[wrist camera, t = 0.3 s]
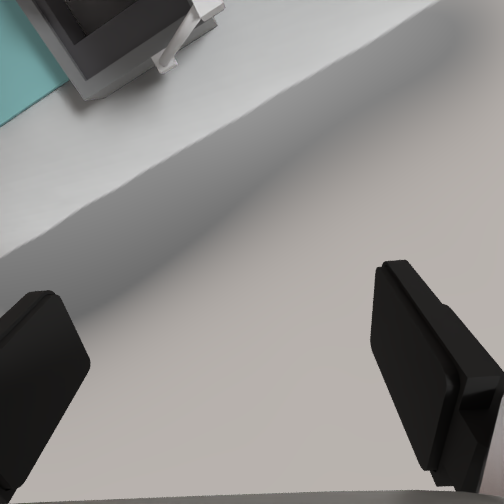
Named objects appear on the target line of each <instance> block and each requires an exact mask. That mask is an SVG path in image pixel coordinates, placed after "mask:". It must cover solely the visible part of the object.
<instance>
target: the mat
mask: <svg viewBox="0 0 504 504" xmlns="http://www.w3.org/2000/svg"><path fill="white" fill-rule="evenodd" d="M69 80H70V79H69V78H68V76H67V75H66V73H65V72H64V71H63V69H62V68H61V66H60V65H59V63H58V62H57V60H56V59H55V57H54V56H53V54H52V53H51V51H50V50H49V49H48V47H47V46H46V44H45V43H44V41H43V40H42V38H41V37H40V35H39V34H38V32H37V31H36V30H35V28H34V27H33V25H32V24H31V22H30V21H29V19H28V18H27V16H26V15H25V13H24V12H23V10H22V9H21V8H20V6H19V5H18V3H17V2H16V0H0V127H1V126H2V125H4V124H5V123H7V122H8V121H10V120H11V119H13V118H14V117H16V116H17V115H19V114H20V113H22V112H23V111H25V110H26V109H28V108H29V107H30V106H32V105H33V104H35V103H36V102H38V101H39V100H41V99H42V98H44V97H45V96H47V95H48V94H50V93H51V92H53V91H54V90H56V89H57V88H58V87H60V86H61V85H63V84H64V83H66V82H67V81H69Z"/></svg>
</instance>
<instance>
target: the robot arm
mask: <svg viewBox="0 0 504 504" xmlns="http://www.w3.org/2000/svg"><path fill="white" fill-rule="evenodd" d="M373 299H374V300H373V311H372V325H371V336H370V342H371V348H372V352H373V354H374V357H375V359H376V361H377V364H378V366H379V369H380V371H381V373H382V376H383V378H384V380H385V383H386V385H387V388H388V390H389V393H390V395H391V397H392V400H393V402H394V405H395V407H396V409H397V412H398V414H399V417H400V419H401V421H402V424H403V426H404V429H405V431H406V433H407V436H408V438H409V441H410V443H411V445H412V448H413V450H414V453H415V455H416V457H417V460H418V462H419V464H420V466H421V468H422V469H423V470H424V471H427V470H428V471H429V470H430V473H431V475H432V477H433V479H434V482H435V484H436V486H437V487H439V486H454V488H455V490H456V492H454V491H453V492H452V491H425V490H396V491H395V490H394V491H333V492H331V491H330V492H303V493H302V492H301V493H272V494H243V495H215V496H187V497H164V498H163V497H162V498H137V499H113V500H87V501H63V502H40V503H19V504H504V372H503V371H502V369H501V368H500V367H499V365H498V364H497V363H496V362H495V361H494V359H493V358H492V357H491V356H490V355H489V353H488V352H487V351H486V350H485V349H484V347H483V346H482V345H481V344H480V343H479V342H478V340H477V339H476V338H475V337H474V336H473V334H472V333H471V332H470V331H469V330H468V328H467V327H466V326H465V325H464V324H463V322H462V321H461V320H460V319H459V318H458V316H457V315H456V314H455V313H454V312H453V310H452V309H451V308H449V306H447V305H445V304H442V303H441V302H440V300H439V299H438V298H437V297H436V296H435V294H434V293H433V292H432V291H431V289H430V288H429V287H428V286H427V284H426V283H425V282H424V281H423V280H422V279H421V277H420V276H419V275H418V273H417V272H416V271H415V270H414V268H412V266H411V265H410V264H409V262H408V261H407V260H396V261H385V262H384V263H383V264H382V267H377V269H376V273H375V286H374V298H373ZM89 369H90V358H89V356H88V354H87V353H86V350H85V348H84V346H83V344H82V342H81V339H80V337H79V335H78V333H77V331H76V329H75V327H74V325H73V323H72V320H71V318H70V316H69V314H68V312H67V310H66V308H65V306H64V304H63V302H62V300H61V298H60V296H58V295H56V294H55V293H54V292H53V291H50V290H47V291H35V292H29V293H27V294H26V295H25V296H24V297H23V298H21V299H20V300H19V301H18V302H17V303H16V304H15V305H14V306H13V307H12V308H11V309H10V310H9V311H8V312H6V313H5V314H4V315H3V316H2V317H1V318H0V504H8V503H9V501H10V500H11V498H12V496H13V495H14V493H15V491H16V489H17V488H19V487H20V486H21V485H22V484H23V483H24V482H25V480H26V479H27V477H28V475H29V474H30V472H31V470H32V469H33V467H34V465H35V463H36V462H37V460H38V458H39V456H40V455H41V453H42V451H43V449H44V447H45V446H46V444H47V443H48V441H49V439H50V437H51V436H52V434H53V432H54V430H55V428H56V427H57V425H58V423H59V422H60V420H61V418H62V416H63V415H64V413H65V411H66V410H67V408H68V406H69V404H70V403H71V401H72V399H73V398H74V396H75V394H76V392H77V391H78V389H79V387H80V385H81V384H82V382H83V380H84V378H85V377H86V375H87V373H88V371H89Z"/></svg>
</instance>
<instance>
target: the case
mask: <svg viewBox="0 0 504 504" xmlns="http://www.w3.org/2000/svg"><path fill="white" fill-rule="evenodd" d="M16 2H17V3H18V5H19V6H20V8H21V9H22V10H23V12H24V13H25V15H26V16H27V18H28V19H29V21H30V22H31V24H32V25H33V27H34V28H35V30H36V31H37V32H38V34H39V35H40V37H41V38H42V40H43V41H44V43H45V44H46V46H47V47H48V49H49V50H50V51H51V53H52V54H53V56H54V57H55V59H56V60H57V62H58V63H59V65H60V66H61V68H62V69H63V71H64V72H65V73H66V75H67V76H68V78H69V79H70V81H71V82H72V84H73V85H74V87H75V88H76V90H77V91H78V93H79V94H80V95H81V97H82V98H83V100H84V101H87V100H95V99H103V98H105V97H107V96H108V95H110V94H112V93H113V92H115V91H116V90H118V89H119V88H121V87H122V86H124V85H126V84H127V83H129V82H130V81H132V80H133V79H135V78H137V77H138V76H140V75H141V74H143V73H144V72H146V71H147V70H149V69H151V68H152V67H154V66H156V67H157V69H158V71H159V73H163V74H165V73H166V72H168V71H169V70H171V69H172V68H174V67H176V66H177V65H178V63H177V61H176V59H175V57H174V55H175V54H176V53H177V51H179V50H180V49H182V48H183V47H185V46H186V45H188V44H190V43H191V42H193V41H194V40H196V39H197V38H199V37H200V36H202V35H204V34H205V33H207V32H208V31H210V30H211V29H213V28H214V27H216V26H218V25H217V23H216V21H215V19H214V16H215V15H217V14H218V13H220V12H221V11H223V10H224V9H225V8H226V7H225V5H224V3H223V0H138V1H136V2H135V3H133V4H132V5H131V6H129V7H128V8H126V9H125V10H123V11H122V12H121V13H119V14H118V15H116V16H115V17H114V18H112V19H111V20H109V21H108V22H107V23H105V24H104V25H102V26H101V27H99V28H98V29H97V30H95V31H94V32H92V33H91V34H90V35H88V36H87V37H86V35H85V34H84V32H83V31H82V29H81V27H80V26H79V24H78V23H77V21H76V19H75V18H74V16H73V15H72V13H71V11H70V10H69V8H68V7H67V5H66V4H65V2H64V0H16Z"/></svg>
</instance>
